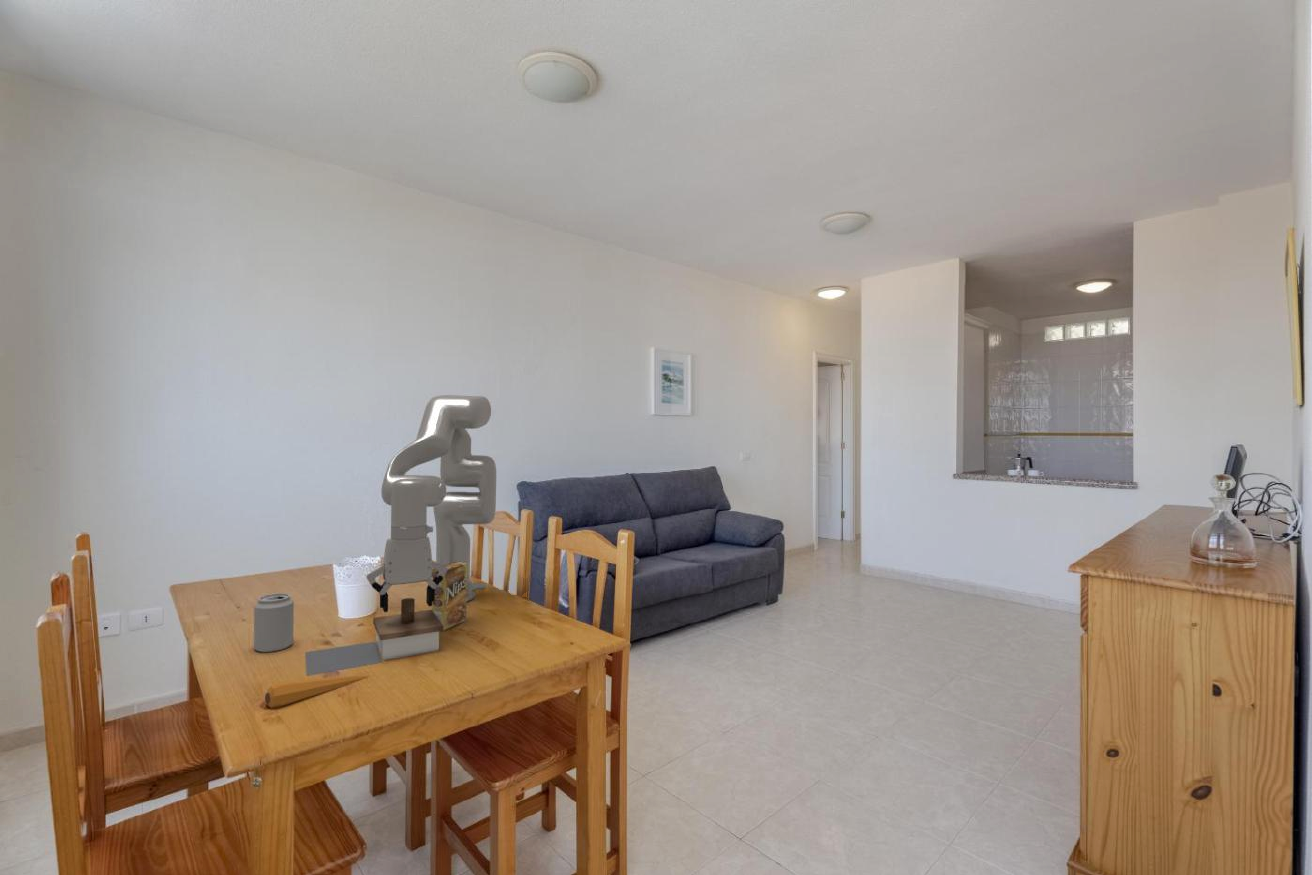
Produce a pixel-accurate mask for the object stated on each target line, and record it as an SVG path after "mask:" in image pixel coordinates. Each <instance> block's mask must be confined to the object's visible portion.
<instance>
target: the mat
mask: <svg viewBox="0 0 1312 875" xmlns="http://www.w3.org/2000/svg"><path fill="white" fill-rule="evenodd" d="M304 655H305V670H306V672H305V673H306V677H308V676H314V675H319V674H324V673H325V674H327V673H329V672H330V673H331V672H338V671H342V670H348V669H355V668H360V667H364V666H370V665H376V664H383V660H382V657H381V654H380V652H379V649H378V646H377V644H376V640H375V641H374V640H373V641H369V642H362V643H357V644H356V643H355V644H349V645H344V646H343V645H342V646H337V647H330V648H324V649H317V650H311V651H306V652H305V654H304Z"/></svg>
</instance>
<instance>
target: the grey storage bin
mask: <svg viewBox="0 0 1312 875" xmlns="http://www.w3.org/2000/svg"><path fill="white" fill-rule="evenodd" d="M375 631H376V630H375ZM375 639H376V640H375V644H376V646H377V649H378V652H379V654H380V657H381V660H382V661H388V660H393V659H400V658H405V657H411V656H417V655H423V654H428V653H433V652H439V651H440V647H439V646H440V631H439V632H432V633H426V634H419V635H413V636H407V637H400V638H394V639H387V640H381V641H380V639H379V636H378V634H377V631H376V634H375Z"/></svg>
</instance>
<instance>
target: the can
mask: <svg viewBox="0 0 1312 875" xmlns="http://www.w3.org/2000/svg"><path fill="white" fill-rule="evenodd" d="M294 602H295V601H294V600H293V599H292V598H291V594H290V593H286V592H277V593H269V594H265V595H262V596H260V597H258V599H257V602H256V603H255V604H254V607H253V608H254V610H253V618H254V619H253V620H254V621H253V649H254V650H255V651H257V652H259V653H273V652H275V653H276V652H279V651H282V650H283V651H284V650H286V649H287V648H289V647H290V646H291V645H293V643H294V615H295V614H294V608H295V606H294V604H295V603H294Z"/></svg>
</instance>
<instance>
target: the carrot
mask: <svg viewBox="0 0 1312 875" xmlns="http://www.w3.org/2000/svg"><path fill="white" fill-rule="evenodd" d="M371 676H372V675H371V674H369V675H368V674H366V675H365V674H364V675H345V676H336V677H326V678H325V677H324V678H315V679H303V680H292V681H291V680H290V681H280V682H277V683H275V684H273V685H270V686H269V688H268V690H267V692H266V693H265V697H264V700H265V703H266V705H267V707H269V709H274V708H275V709H276V708H281V707H284V706H287V705H290V704H293V703H296V702H300V701H302V700H305V699H306V700H307V699H309V698H311V697H315V696H317V695H321V694H325V693H326V692H327V693H328V692H330V691H333V690H336V689H339V688H342V687H345V686H348V685H350V684H353V683H356V682H358V681H361V680H364V679H366V678H369V677H371Z"/></svg>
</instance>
